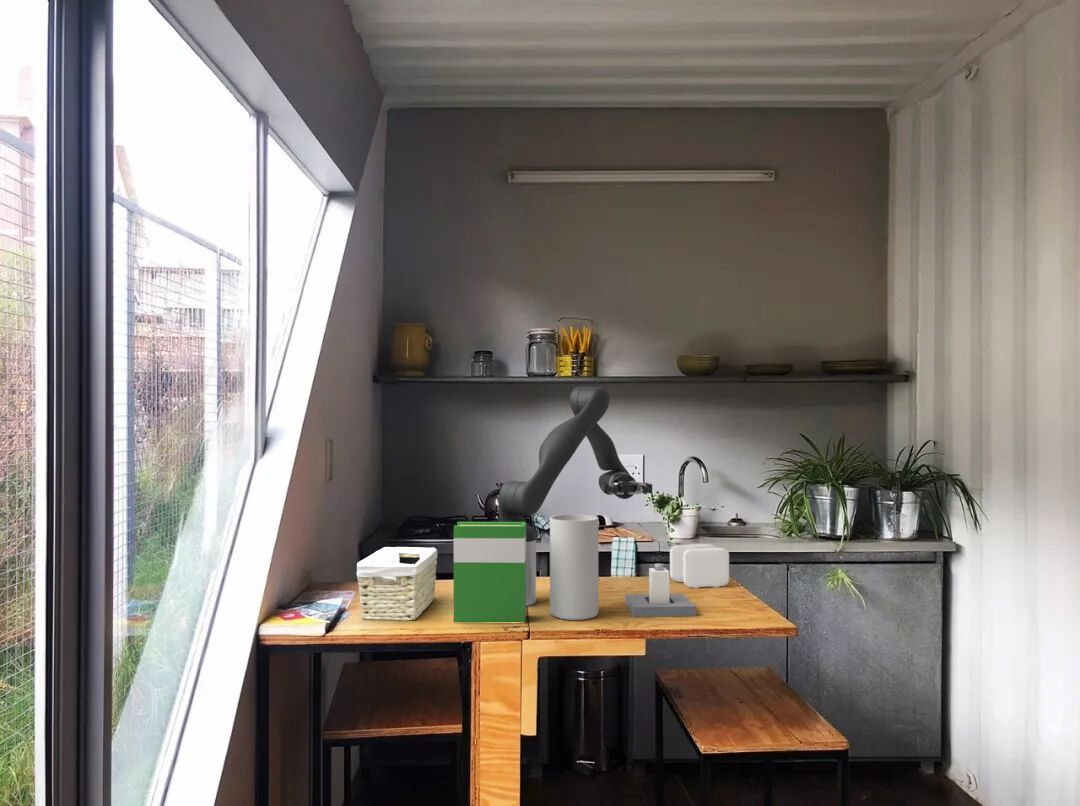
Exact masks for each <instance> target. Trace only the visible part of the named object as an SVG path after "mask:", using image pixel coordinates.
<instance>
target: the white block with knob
mask: <svg viewBox="0 0 1080 806" xmlns="http://www.w3.org/2000/svg"><path fill="white" fill-rule="evenodd" d="M664 565H665V564H664V563H660V562H659V563H654V567H650V568H649V567H648V594H649V603H669V594H670V570H668V569H667V567H664Z"/></svg>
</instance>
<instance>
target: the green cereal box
mask: <svg viewBox="0 0 1080 806" xmlns="http://www.w3.org/2000/svg"><path fill="white" fill-rule="evenodd" d="M526 523H527V522H526V521H525V522H500V521H457V522H456V524H457V525H454V526H453V623H454V622H525V623H526V618H525V617H527V606H526Z"/></svg>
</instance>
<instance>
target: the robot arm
mask: <svg viewBox="0 0 1080 806" xmlns="http://www.w3.org/2000/svg"><path fill="white" fill-rule="evenodd" d="M610 401H611V398H610V393H609V392H608V390H607V389H605V388H603V387H600V386H587V385H586V386H583V385H582V386H576V387H574V388H573V390H572V391H571V392H570V396H569V405H570V409H571V411H572V413H573V415H574V416H573V417H571V418H569V419H567V420H566V421H564V422H562V423H560V424H559V425H557V426H556V427H554V428H553V429H552V430H550V432H549V433H548V434H547V436H546V438H545V439H544V440H543V441H542V443H541V445H540V446H539V450H538V468H537V470H536V471H535V473H534V475H532V476H531V478H529V480H528V481H520V480H519V481H518V480H508V481H506V482H505V483H503V485H501V487H500V490H499V493H498V517H499V521H498V522H526V521H525V518H524V516H527V517H528V516H529V517H530V516H533V515H535V514H536V513H537V512H538V511H539V510H540V509H541V507H542V506H543V504H544V502H545V500H546V498H547V496H548V494H549V492H550V490H551V489H552V487H553V486H554V483H555V482H556V480H557V478H558V477H559V476H560V474H561V472H562V471H563V469H564V468H565V466H566V465H567V464H568V463H569V461H570V460H571V458H572V457H573V456H574V454H575V453H576V451H577V450H578V448H579V446H580V444H582V442H583V440H584V439H585V438H587V440H588V442H589V444H590V446H591V448H592V452H593V454H594V457H595V459H596V463H597V465H598V467H599V469H600V470H602V471H605V472H603V473H602V474H601V475H600V476H599V477H598V487H599V488H600V490H601V491H602V492H603V493H604V494H605V495H609V496H611V495H615V496H616V497H617V498H619V499H621V500H628V499H629V498H630V499H631V497H633V496H634V495H641V494H643V495H648V494H653V484H652V483H649V482H644V483H642V482H639V481H636V479H635V478H634V477H633V476H632V475H631V474H630V472H629V471H628V469H627V468H625V465H624V464H623V463H622V461H621V460H620V458H619V455H618V452H617V448H616V445H615V444H614V441H613V440H612V438H611V437H610V435H608V433H607V432H606V431H605V430H604V429H603V428H602V427H601V426H600V425H599V423H598V422H599V421H600V420H601V419H602V418H603V416H604V415H605V414H606V413H607V411H608V409H609V406H610ZM536 603H537V532H536V529H535V528H534V527H532V526H531V525H529V523H527V522H526V607H529V606H531V605H534V604H536Z"/></svg>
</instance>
